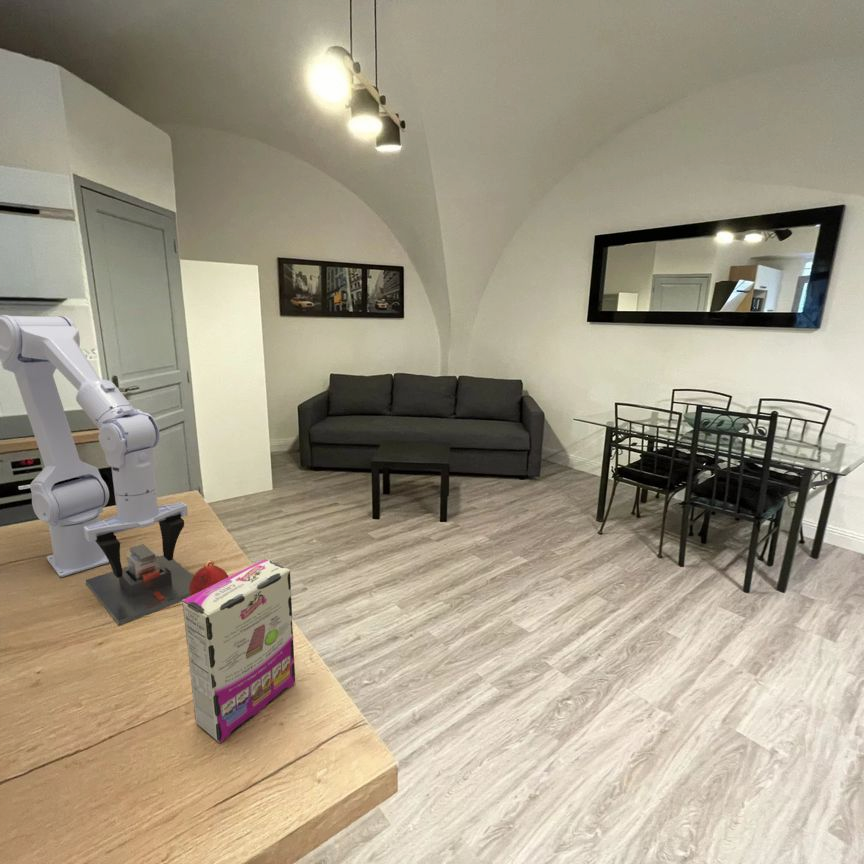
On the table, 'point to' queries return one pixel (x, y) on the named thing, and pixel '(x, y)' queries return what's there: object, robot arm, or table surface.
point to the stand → (141, 591)
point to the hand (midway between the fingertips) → (144, 566)
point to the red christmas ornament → (206, 577)
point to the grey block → (142, 561)
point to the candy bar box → (239, 646)
